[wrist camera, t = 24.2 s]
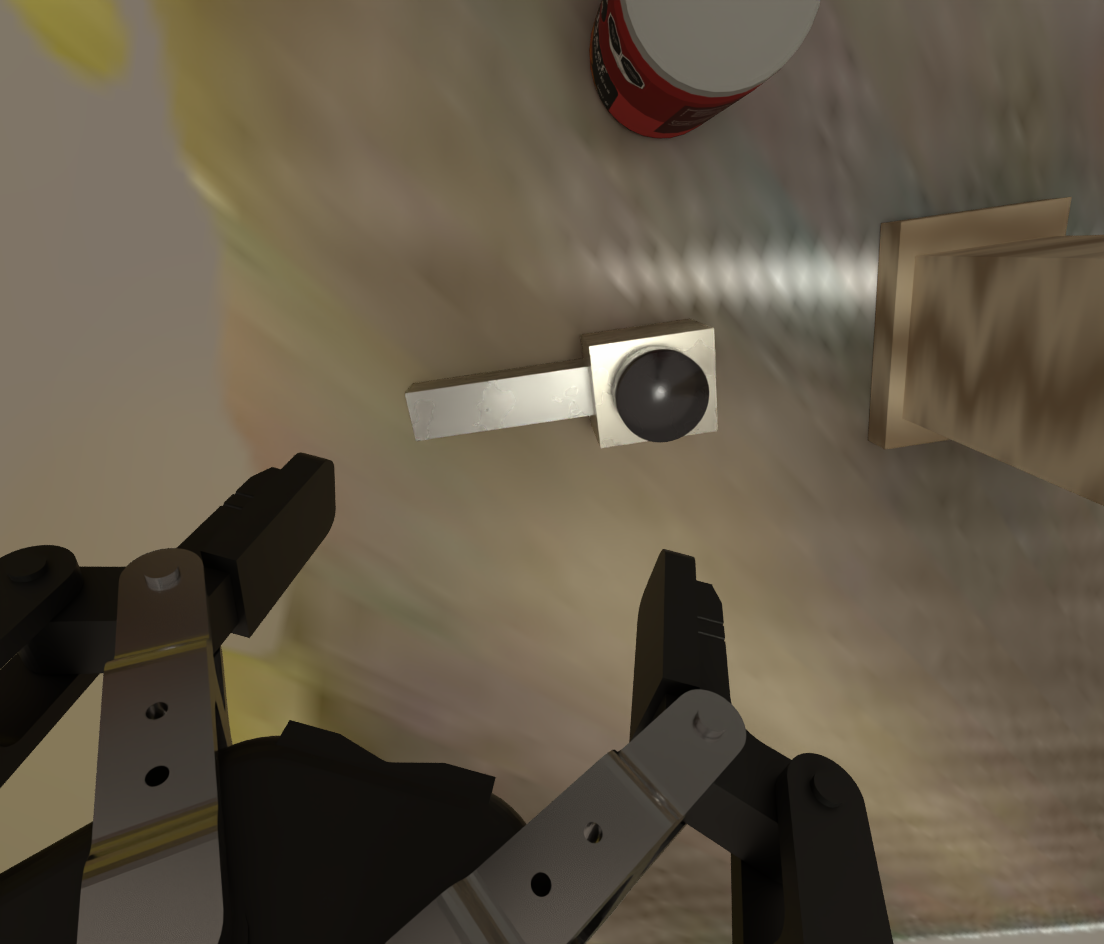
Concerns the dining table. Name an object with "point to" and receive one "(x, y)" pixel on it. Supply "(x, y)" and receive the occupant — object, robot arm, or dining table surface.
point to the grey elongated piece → (588, 389)
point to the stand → (994, 340)
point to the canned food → (689, 56)
